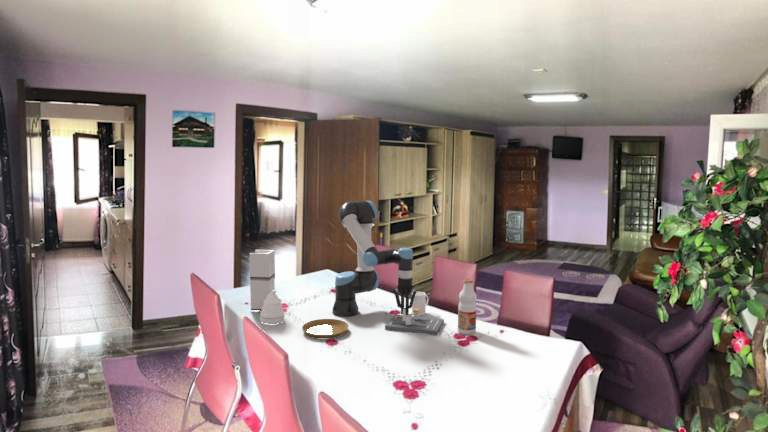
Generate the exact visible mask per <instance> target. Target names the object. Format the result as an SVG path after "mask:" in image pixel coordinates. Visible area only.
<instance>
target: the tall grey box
mask: <svg viewBox="0 0 768 432" xmlns="http://www.w3.org/2000/svg"><path fill="white" fill-rule="evenodd" d="M275 252H276V251H275V250H274V249H255V250H254V252H249V279H250V280H249V282H250V283H249V285H250V286H249V287H250V290H249V291H250V311H251V310H260V311H262V306H263V304H264V302H263V301H264V300H265V299H266V297H267V295H268V294H269V293H270V292H272V290H276V289H275V288H276V287H275V279H276V263H275V262H276V261H275V260H276V259H275V257H276V256H275Z"/></svg>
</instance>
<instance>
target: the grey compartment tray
mask: <svg viewBox="0 0 768 432" xmlns="http://www.w3.org/2000/svg"><path fill="white" fill-rule="evenodd" d="M444 320H445V319H443V318H434V317H426V316H424V317H423V316H419V319H418V320H416V319H414V315H412V316H411V325H406V321H403V314H393V316H392V317H391V318H390V319H389V321H388V322H387V323H386V324H385V325H384V330H386V331H387V330H388V331H395V332H396V331H397V332H403V333H404V332H406V333H414V334H422V335H430V336H431V335H432V336H433V335H434V336H438V334H439V332H440V330H441V328H442V327H443V325H444V323H445V321H444Z"/></svg>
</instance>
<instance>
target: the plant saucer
mask: <svg viewBox="0 0 768 432" xmlns="http://www.w3.org/2000/svg"><path fill="white" fill-rule="evenodd" d="M323 324H328V325H331V326H332V328H333V329H332V330H333V331H332V332H333V334H332V335H314V334H310V333H307V332H306V331H307V329H309V328H310V327H313V326H317V325H323ZM301 328H302V331H303V333H304V334H305V335H306V336H308V337H310V338H312V337H314V338H313V339H317V338H330V339H335V338H334V337H336V338H338V336H339V337H340V336H342V335H344V334H345V333H346V332H347V331H348V329H349V324H348V323H347V322H346V321H343V320H340V319H336V318H335V319H334V318H321V319H320V318H319V319H314V320H311V321H308V322H305V323H304V324H303V325H302V327H301Z"/></svg>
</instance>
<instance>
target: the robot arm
mask: <svg viewBox="0 0 768 432" xmlns="http://www.w3.org/2000/svg"><path fill="white" fill-rule="evenodd" d="M377 217H378V209H377V206H376V205H375V203H374V202H373V201H371V200H366V199H365V200H355V201H352V200H351V201H346V202H345V203H343V204H342V205H341V206H340V208H339V211H338V219H339V222H340V224H341V225H342V226H343V228H346V230H347V232H348V233H349V234H350V235H351V238H352V239H353V240H354V242H355V243H356V247H357V248H356V253H357V254H356V255H357V267H356V268H355V271H351V270H350V271H349V270H348V271H343V272H340V273H337V275H336V276H335V279H334V280H335V282H334V284H335V285H334V286H335V287H334V288H335V289H334V290H335V291H334V293H335V294H334V295H335V300H334V303H333V306H332V314H333V315H335V316H338V317H352V316H357V315H358V314H359V307H358V304H357V300H356V294H360V293H366V292H367V293H370V292H372V291H375V290H376V289H377V288H378V287H379V284H380V275H379V273H378V272H377V271H376V268H374V267H377V266H383V265H389V264H391V265H392V264H395V265H398V267H397V268H398V269H397V270H398V272H397V275H398V278H397V286H396V288H393V290H392V292H393V294H394V296H395V300H396V306H397V308H399V309H400V315H403V321H406V317H405V315H408V314H410V313H409V312H410V311H409V309H412V305H413V301H414V297H415V294H416V293H417V292H418V291H417V290H416V289H414V287H413V264H414V263H413V262H414V261H413V259H414V255H413V251H414V250H413V249H412V248H410V247H400V248H399V249H397V248H395V247H393V248H392V247H388V248H387V249H385V250H378V248H377V247H376V245H375V244H374V243H373V240H372V225H373V224H374V220H376V219H377ZM410 293H411V298H410ZM399 295H400V296H399Z"/></svg>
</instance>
